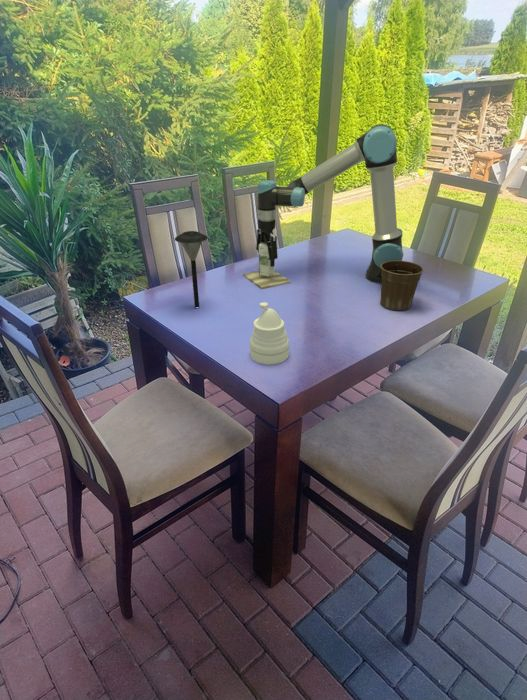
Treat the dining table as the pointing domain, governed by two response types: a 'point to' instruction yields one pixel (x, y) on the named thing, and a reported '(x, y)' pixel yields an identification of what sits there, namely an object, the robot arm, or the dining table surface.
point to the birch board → (266, 279)
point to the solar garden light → (192, 254)
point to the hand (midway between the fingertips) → (266, 269)
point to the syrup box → (263, 260)
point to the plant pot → (399, 284)
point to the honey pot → (269, 338)
